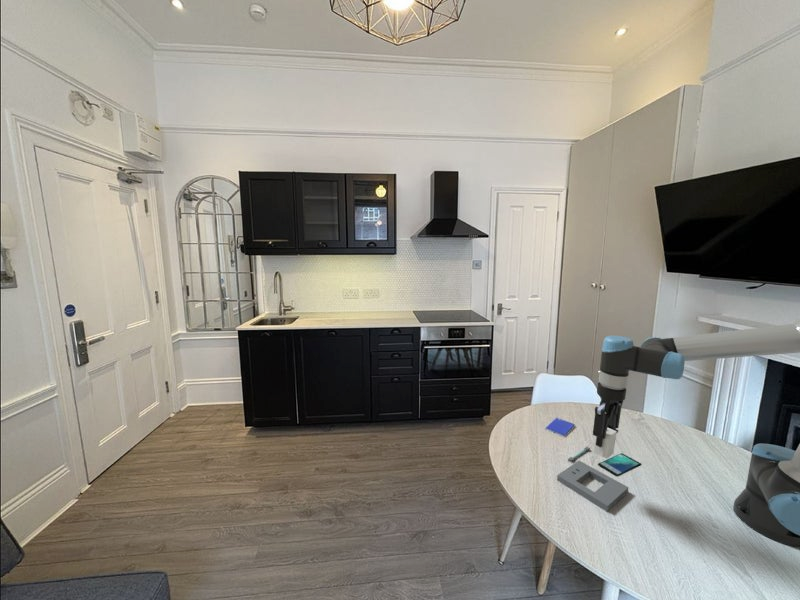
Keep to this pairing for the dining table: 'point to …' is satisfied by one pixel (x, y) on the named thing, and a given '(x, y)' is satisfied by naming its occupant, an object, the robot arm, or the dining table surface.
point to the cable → (578, 454)
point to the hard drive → (560, 427)
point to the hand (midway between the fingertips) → (603, 451)
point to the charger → (608, 442)
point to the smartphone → (619, 464)
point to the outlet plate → (601, 497)
